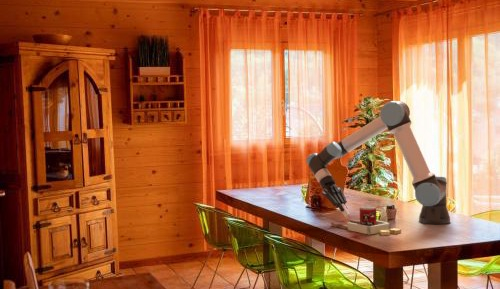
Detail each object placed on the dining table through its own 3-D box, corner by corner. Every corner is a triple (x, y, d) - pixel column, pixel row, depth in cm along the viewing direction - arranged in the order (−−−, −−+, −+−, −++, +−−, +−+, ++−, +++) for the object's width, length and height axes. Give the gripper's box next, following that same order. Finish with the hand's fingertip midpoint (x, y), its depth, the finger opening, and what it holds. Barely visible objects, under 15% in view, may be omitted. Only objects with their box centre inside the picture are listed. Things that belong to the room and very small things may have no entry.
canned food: (358, 230, 287) (357, 208, 287) (362, 227, 295) (362, 205, 294) (374, 232, 284) (373, 208, 283) (377, 228, 291) (377, 206, 291)
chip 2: (388, 233, 281) (388, 229, 281) (394, 232, 284) (393, 228, 284) (396, 234, 278) (396, 230, 278) (401, 233, 281) (401, 229, 281)
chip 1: (379, 234, 281) (379, 230, 281) (388, 234, 280) (388, 229, 280) (381, 236, 277) (380, 231, 277) (389, 235, 276) (389, 231, 276)
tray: (347, 229, 290) (347, 222, 290) (369, 225, 298) (369, 218, 298) (369, 234, 279) (369, 227, 278) (390, 230, 287) (390, 223, 287)
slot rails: (331, 225, 300) (331, 222, 300) (351, 222, 308) (351, 219, 308) (347, 229, 291) (347, 226, 291) (368, 225, 299) (368, 222, 299)
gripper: (331, 182, 319) (353, 218, 306) (312, 184, 311) (334, 221, 299) (337, 173, 314) (361, 209, 301) (319, 175, 307) (342, 212, 294)
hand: (347, 215), depth 300 cm, fingers closed
